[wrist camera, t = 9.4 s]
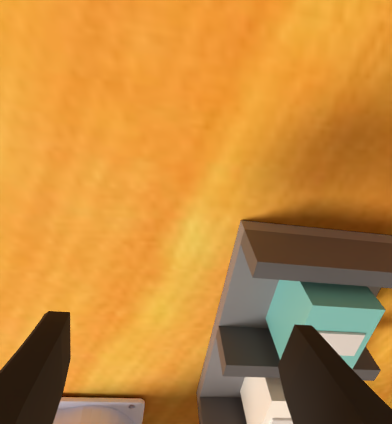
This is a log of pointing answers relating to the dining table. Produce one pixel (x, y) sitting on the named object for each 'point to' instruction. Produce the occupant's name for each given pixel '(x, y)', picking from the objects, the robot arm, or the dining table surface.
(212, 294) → the dining table surface
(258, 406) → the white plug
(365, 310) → the teal box
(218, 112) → the dining table surface
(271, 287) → the gray shelf unit
